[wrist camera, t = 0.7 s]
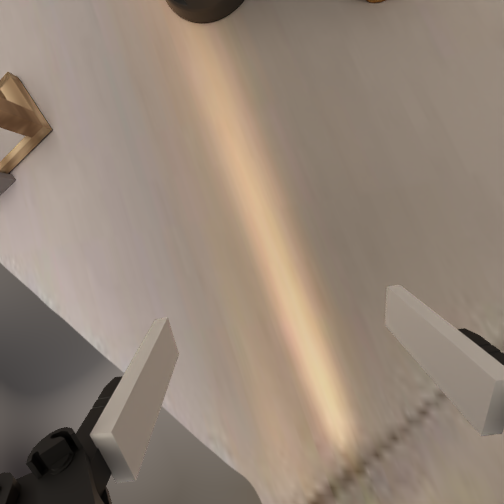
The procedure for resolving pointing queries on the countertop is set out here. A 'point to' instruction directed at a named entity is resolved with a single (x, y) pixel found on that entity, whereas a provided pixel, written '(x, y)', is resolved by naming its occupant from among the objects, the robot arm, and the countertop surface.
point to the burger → (375, 1)
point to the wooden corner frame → (19, 120)
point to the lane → (5, 181)
